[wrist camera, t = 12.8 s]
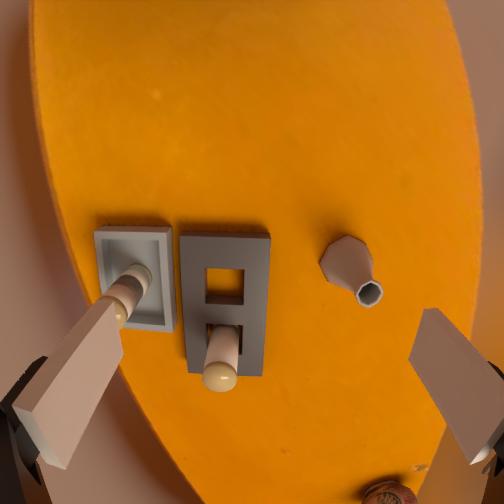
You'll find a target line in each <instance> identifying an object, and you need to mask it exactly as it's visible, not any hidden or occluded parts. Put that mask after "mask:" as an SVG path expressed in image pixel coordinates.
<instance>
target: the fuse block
mask: <svg viewBox="0 0 504 504" xmlns="http://www.w3.org/2000/svg"><path fill="white" fill-rule="evenodd" d="M179 239H180V266H181V286H182V304H183V319H184V332H185V344H186V356H187V366H188V373H199V374H203V369H204V364H205V359H206V354H207V349H208V345H209V332H208V324H227V325H243V345H239V348H238V364H237V376H262V371H263V357H264V342H265V328H266V312H267V297H268V281H269V264H270V246H271V237H270V233H245V232H214V231H183V232H182V233H181V235H180V236H179ZM207 268H219V269H245V275H244V297H236V296H212V295H207Z"/></svg>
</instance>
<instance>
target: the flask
mask: <svg viewBox="0 0 504 504" xmlns="http://www.w3.org/2000/svg"><path fill="white" fill-rule="evenodd" d="M319 265H320V267H321V269H322V271H323V273H324V275H325V277H326V279H327V281H328V282H331V283H333V284H335V285H338V286H340V287H342V288H345V289H348V290H351V291H352V292H353V293H354V295H355V297H356V299H357V301H358V304H360V305H362V306H364V307H367V308H369V307H371V306H373V305H375V304H377V303H378V302H379V300H380V299H381V297H382V295H383V294H384V292H383V289H382V287H381V284H380V283H379V282H377V281H375V280H374V279H373V260H372V257H371V255H370V253H369V250H368V248H367V246H366V243H364V242H362V241H360V240H358V239H356V238H354V237H352V236H349V235H347V236H345V237H343V238H341V239H339V240H337V241H335V242H333V243H332V244H330V245H329V246H328V248H327V249H326V251H325V253H324V255H323V257H322V259H321V261H320V263H319Z"/></svg>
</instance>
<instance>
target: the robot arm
mask: <svg viewBox="0 0 504 504" xmlns="http://www.w3.org/2000/svg"><path fill="white" fill-rule="evenodd" d="M123 355H124V354H123V350H122V345H121V340H120V335H119V329H118V324H117V318H116V312H115V306H114V301H108V300H97V301H96V302H95V303H94V304H93V305H92V307H91V308H90V309H89V310H88V311H87V312H86V314H85V315H84V316H83V317H82V318H81V319H80V320H79V321H78V323H77V324H76V325H75V326H74V327H73V328H72V330H71V331H70V332H69V333H68V334H67V336H66V337H65V338H64V339H63V340H62V341H61V343H60V344H59V345H58V346H57V348H56V349H55V350H54V351H53V352H52V354H51V355H50V356H49V357H45V356H42V357H41V358H39V359H37V360H36V361H34V362H33V363H32V364H31V365H30V366H29V367H28V369H27V370H26V371H25V374H23V375H22V376H21V377H20V378H19V381H17V382H16V383H15V385H14V386H13V387H12V388H11V390H10V391H9V392H8V393H7V395H6V396H5V397H4V399H3V400H2V401H1V402H0V504H52V501H51V499H50V496H49V493H48V490H47V488H46V485H45V482H44V479H43V476H42V473H41V470H40V467H39V464H38V463H37V461H36V459H37V457H38V455H39V453H40V454H41V455H42V457H43V458H44V460H45V461H46V463H48V464H51V465H53V466H56V467H59V468H62V469H65V470H66V468H67V465H68V463H69V461H70V459H71V457H72V455H73V452H74V450H75V449H76V446H77V444H78V442H79V440H80V438H81V436H82V434H83V432H84V430H85V428H86V426H87V424H88V422H89V420H90V418H91V416H92V413H93V412H94V410H95V408H96V406H97V404H98V402H99V400H100V398H101V396H102V394H103V393H104V391H105V389H106V387H107V385H108V383H109V381H110V379H111V377H112V375H113V374H114V372H115V370H116V368H117V366H118V364H119V362H120V361H121V359H122V357H123ZM408 360H409V362H410V363H411V365H412V366H413V368H414V370H415V371H416V373H417V374H418V376H419V378H420V379H421V381H422V382H423V384H424V386H425V387H426V389H427V391H428V392H429V394H430V396H431V397H432V399H433V401H434V402H435V404H436V406H437V407H438V409H439V411H440V413H441V414H442V416H443V418H444V419H445V421H446V423H447V425H448V426H449V428H450V430H451V432H452V434H453V435H454V437H455V439H456V441H457V442H458V444H459V446H460V448H461V450H462V452H463V453H464V455H465V457H466V459H467V461H468V463H469V464H470V465H471V464H473V463H476V462H478V461H481V460H483V459H485V458H486V457H487V455H488V454H489V453H490V451H491V450H492V449H493V448H494V450H495V452H496V454H495V456H494V457H493V458H492V460H491V461H490V462H489V463H488V464H487V466H486V467H485V468H484V470H483V471H482V473H483V474H484V473H485V472H486V471H487V470H488V468H490V472H489V473H488V475H489V476H488V480H487V485H486V488H485V492H484V496H483V500H482V503H481V504H504V374H503V373H502V371H501V370H500V369H499V368H498V367H497V366H495V365H494V364H492V363H491V362H489V361H486V360H485V358H484V357H483V356H482V355H481V354H480V353H479V352H478V351H477V349H476V348H475V347H474V346H473V345H472V344H471V343H470V342H469V341H468V339H467V338H466V337H465V336H464V335H463V334H462V333H461V332H460V331H459V330H458V329H457V328H456V327H455V326H454V325H453V323H452V322H451V321H450V320H449V319H448V318H447V317H446V316H445V315H444V314H443V313H442V312H441V311H440V310H439V309H438V308H431V309H424V311H423V315H422V318H421V322H420V325H419V328H418V332H417V335H416V338H415V341H414V344H413V347H412V350H411V353H410V356H409V359H408Z"/></svg>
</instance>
